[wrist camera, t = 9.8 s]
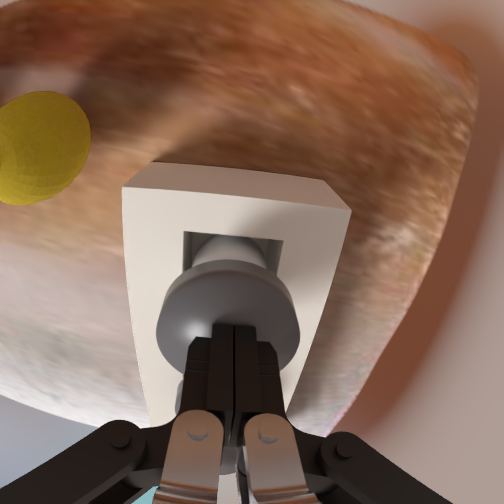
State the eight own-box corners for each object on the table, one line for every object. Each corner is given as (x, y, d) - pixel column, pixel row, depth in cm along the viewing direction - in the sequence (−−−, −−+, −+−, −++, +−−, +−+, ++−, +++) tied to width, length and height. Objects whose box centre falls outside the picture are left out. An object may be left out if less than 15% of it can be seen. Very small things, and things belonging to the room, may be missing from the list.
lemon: (127, 148, 16) (58, 191, 9) (61, 192, 17) (-14, 251, 10) (88, 71, 14) (1, 68, 7) (25, 121, 15) (-63, 151, 7)
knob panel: (259, 426, 30) (262, 465, 25) (165, 419, 29) (160, 459, 24) (323, 180, 18) (351, 210, 13) (150, 161, 17) (121, 187, 12)
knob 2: (238, 429, 28) (239, 476, 23) (186, 425, 27) (182, 472, 22) (244, 401, 25) (246, 455, 21) (185, 397, 25) (179, 451, 20)
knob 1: (272, 309, 17) (284, 388, 12) (177, 301, 17) (160, 380, 12) (289, 222, 15) (315, 290, 10) (179, 211, 14) (152, 275, 9)
